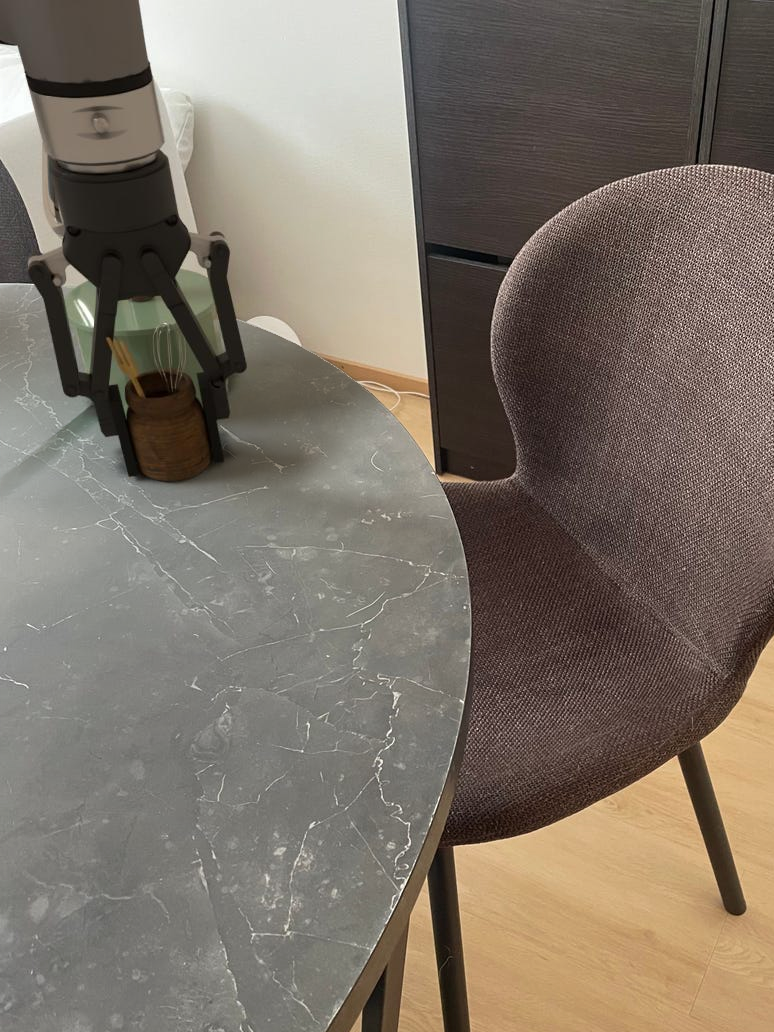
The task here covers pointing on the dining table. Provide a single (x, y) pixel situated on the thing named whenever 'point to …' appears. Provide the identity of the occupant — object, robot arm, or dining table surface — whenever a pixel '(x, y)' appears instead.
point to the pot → (155, 353)
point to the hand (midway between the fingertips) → (175, 460)
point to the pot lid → (140, 307)
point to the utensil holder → (164, 418)
